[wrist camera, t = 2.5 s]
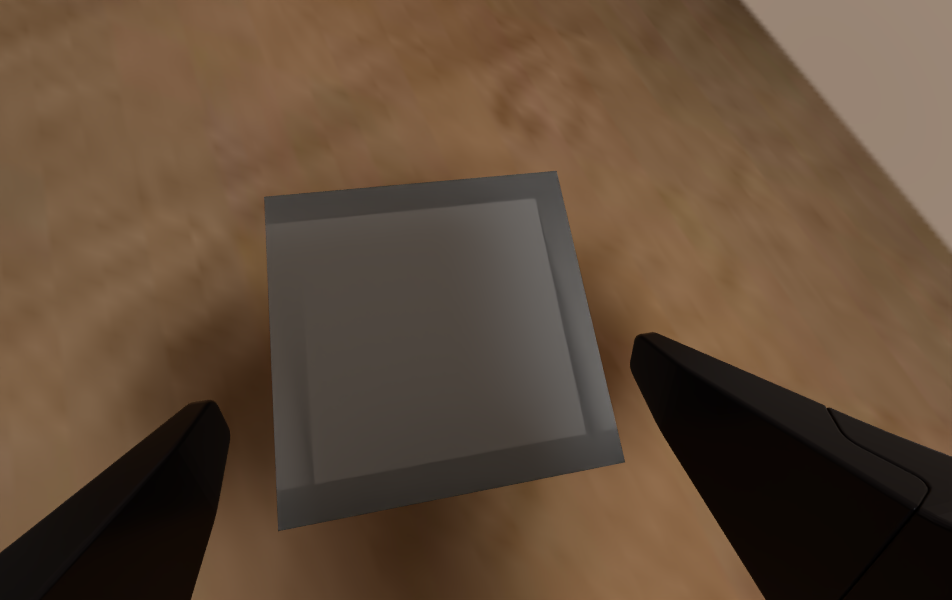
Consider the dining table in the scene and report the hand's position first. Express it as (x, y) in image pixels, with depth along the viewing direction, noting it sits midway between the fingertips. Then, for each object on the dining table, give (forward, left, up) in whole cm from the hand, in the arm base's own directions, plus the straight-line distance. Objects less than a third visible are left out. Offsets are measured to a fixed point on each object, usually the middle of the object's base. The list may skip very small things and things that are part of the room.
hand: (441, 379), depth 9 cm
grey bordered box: (+1, 0, -9) cm, 9 cm away
